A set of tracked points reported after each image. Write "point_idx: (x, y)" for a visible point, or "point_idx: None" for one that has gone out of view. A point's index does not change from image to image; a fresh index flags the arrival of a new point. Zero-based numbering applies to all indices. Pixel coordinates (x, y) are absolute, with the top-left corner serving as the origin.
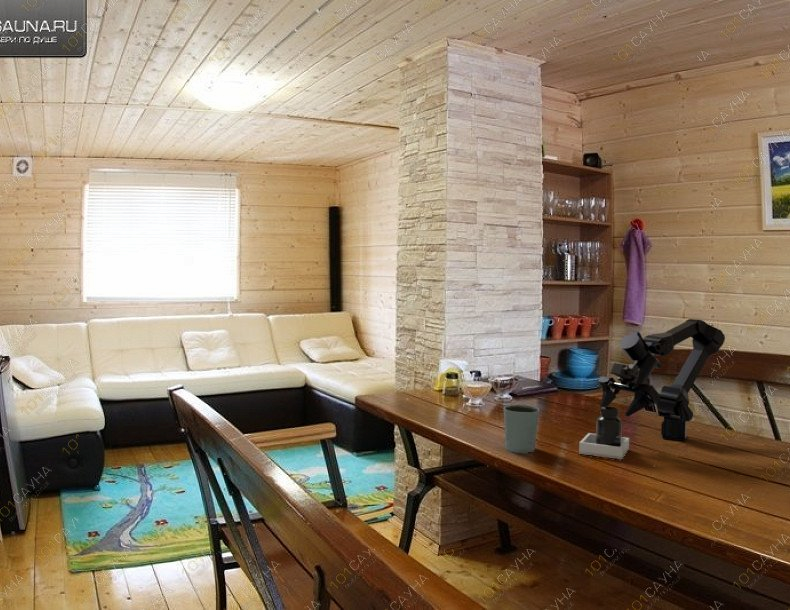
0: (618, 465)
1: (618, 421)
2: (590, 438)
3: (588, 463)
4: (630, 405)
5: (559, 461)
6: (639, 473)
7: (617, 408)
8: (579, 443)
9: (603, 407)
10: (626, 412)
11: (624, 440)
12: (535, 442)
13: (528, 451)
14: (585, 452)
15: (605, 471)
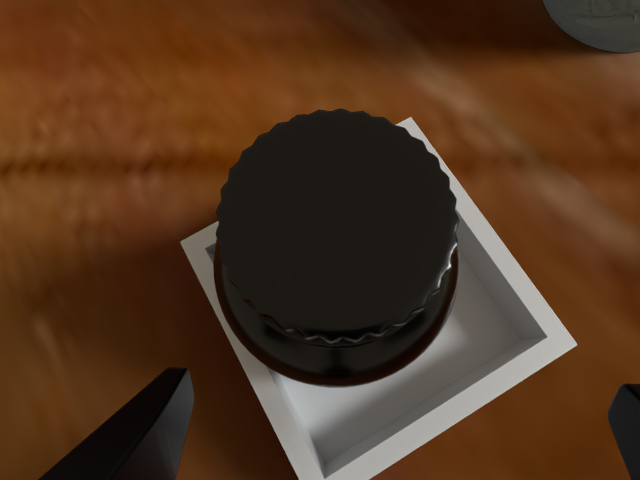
0: (166, 184)
1: (217, 261)
2: (532, 339)
3: (271, 92)
4: (83, 477)
5: (365, 13)
6: (33, 172)
7: (265, 311)
8: (409, 121)
9: (415, 182)
10: (165, 384)
11: (287, 411)
12: (588, 4)
13: None
14: None
15: (150, 72)
